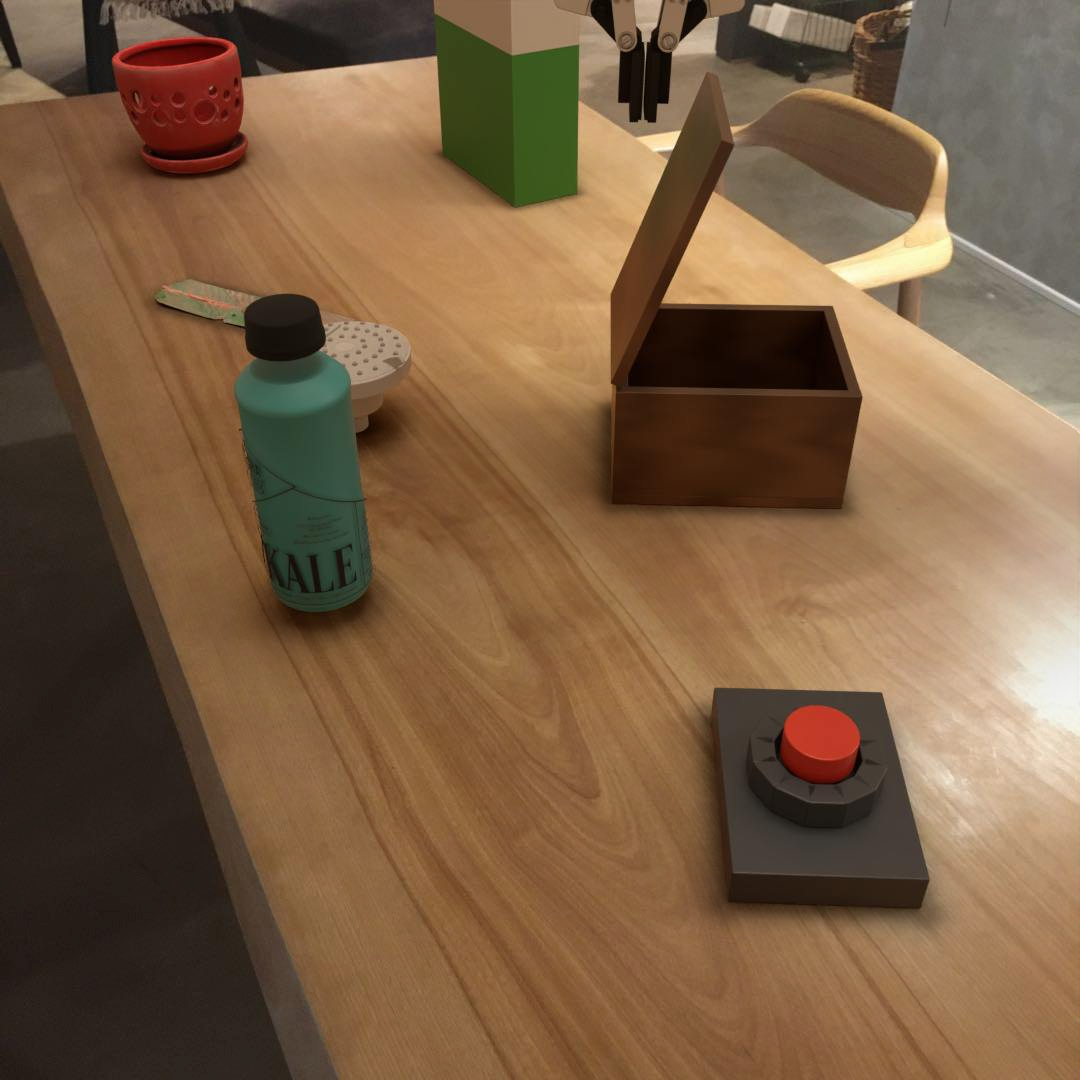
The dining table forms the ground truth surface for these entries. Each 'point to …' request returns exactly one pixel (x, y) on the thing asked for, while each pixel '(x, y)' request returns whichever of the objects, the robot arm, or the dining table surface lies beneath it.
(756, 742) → the control block
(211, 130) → the plant pot
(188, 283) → the map
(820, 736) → the button
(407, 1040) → the dining table surface
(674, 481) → the chest
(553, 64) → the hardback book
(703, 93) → the chest lid
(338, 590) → the beverage bottle
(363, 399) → the showerhead
